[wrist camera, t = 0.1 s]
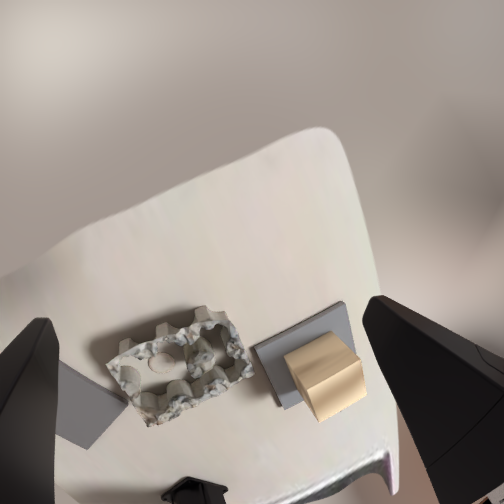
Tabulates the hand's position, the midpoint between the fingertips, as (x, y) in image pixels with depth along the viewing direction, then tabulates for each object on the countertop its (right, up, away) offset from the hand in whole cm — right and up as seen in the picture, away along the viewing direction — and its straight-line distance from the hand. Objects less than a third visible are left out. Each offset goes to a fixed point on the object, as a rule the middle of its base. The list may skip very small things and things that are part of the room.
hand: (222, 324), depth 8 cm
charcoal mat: (-17, -12, +15) cm, 26 cm away
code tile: (+6, -8, +21) cm, 24 cm away
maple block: (+7, -9, +21) cm, 24 cm away
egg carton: (-5, -7, +18) cm, 20 cm away
